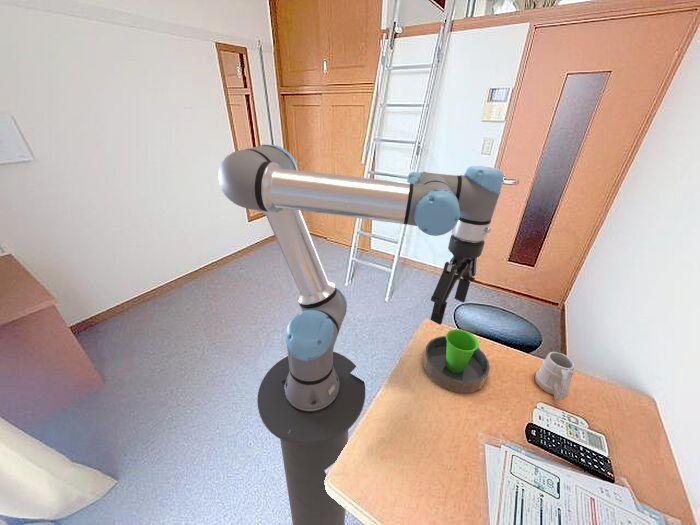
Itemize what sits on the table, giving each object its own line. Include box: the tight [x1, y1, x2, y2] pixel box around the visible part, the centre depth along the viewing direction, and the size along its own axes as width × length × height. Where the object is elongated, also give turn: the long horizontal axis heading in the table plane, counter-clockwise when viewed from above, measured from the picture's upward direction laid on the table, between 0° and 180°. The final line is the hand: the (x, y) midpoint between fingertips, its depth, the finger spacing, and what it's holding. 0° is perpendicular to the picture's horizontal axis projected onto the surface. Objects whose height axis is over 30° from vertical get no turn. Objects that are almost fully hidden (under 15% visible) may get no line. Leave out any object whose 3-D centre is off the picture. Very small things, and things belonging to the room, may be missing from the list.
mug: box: [534, 351, 576, 402], centre depth 79 cm, size 8×12×12 cm, turn 161°
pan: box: [422, 335, 491, 394], centre depth 87 cm, size 18×18×4 cm
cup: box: [445, 329, 480, 373], centre depth 85 cm, size 9×9×11 cm
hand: (448, 310), depth 76 cm, fingers open, 13 cm apart
